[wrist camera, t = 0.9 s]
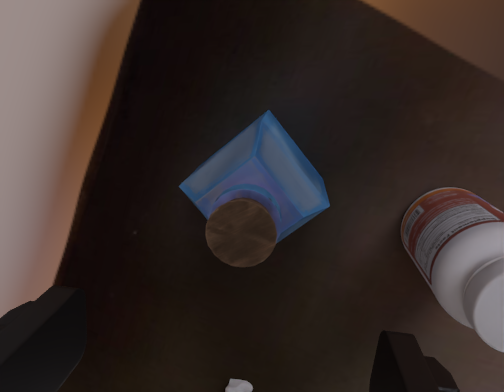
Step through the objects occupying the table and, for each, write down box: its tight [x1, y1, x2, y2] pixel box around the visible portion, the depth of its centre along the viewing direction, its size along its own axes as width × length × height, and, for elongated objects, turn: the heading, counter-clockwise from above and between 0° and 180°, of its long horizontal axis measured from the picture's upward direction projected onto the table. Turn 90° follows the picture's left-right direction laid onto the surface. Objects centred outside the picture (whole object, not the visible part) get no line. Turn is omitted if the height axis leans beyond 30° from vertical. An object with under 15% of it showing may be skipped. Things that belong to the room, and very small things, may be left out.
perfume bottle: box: [179, 110, 330, 267], centre depth 23 cm, size 6×6×12 cm
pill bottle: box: [401, 187, 504, 353], centre depth 24 cm, size 6×6×11 cm
